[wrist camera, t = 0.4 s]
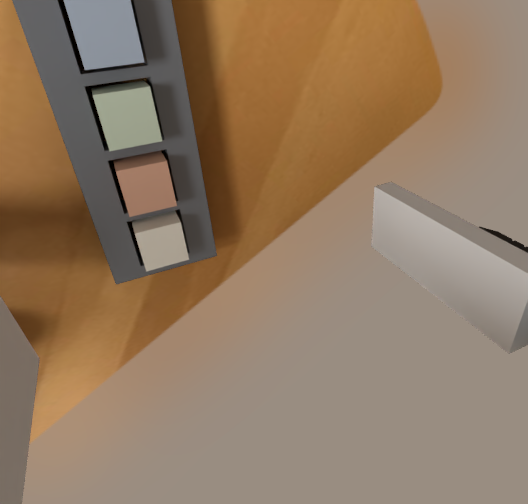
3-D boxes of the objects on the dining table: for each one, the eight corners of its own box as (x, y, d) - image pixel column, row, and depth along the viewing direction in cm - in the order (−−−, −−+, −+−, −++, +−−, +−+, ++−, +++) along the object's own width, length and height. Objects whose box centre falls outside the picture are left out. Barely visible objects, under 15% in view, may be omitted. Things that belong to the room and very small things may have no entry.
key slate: (84, 65, 29) (84, 70, 26) (65, 2, 27) (63, -1, 24) (138, 58, 30) (144, 62, 27) (124, -4, 28) (129, -6, 25)
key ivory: (141, 252, 38) (146, 271, 35) (130, 216, 36) (134, 233, 33) (181, 242, 39) (189, 259, 36) (172, 206, 37) (180, 222, 34)
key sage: (107, 139, 32) (109, 151, 29) (91, 88, 30) (92, 95, 27) (155, 130, 33) (162, 141, 30) (143, 80, 31) (150, 86, 28)
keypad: (113, 267, 39) (116, 284, 37) (10, -22, 26) (2, -26, 24) (208, 241, 42) (216, 255, 39) (157, -32, 29) (164, -36, 26)
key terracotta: (125, 201, 35) (129, 217, 32) (112, 158, 33) (115, 171, 30) (169, 191, 36) (176, 205, 33) (159, 149, 34) (166, 160, 31)
